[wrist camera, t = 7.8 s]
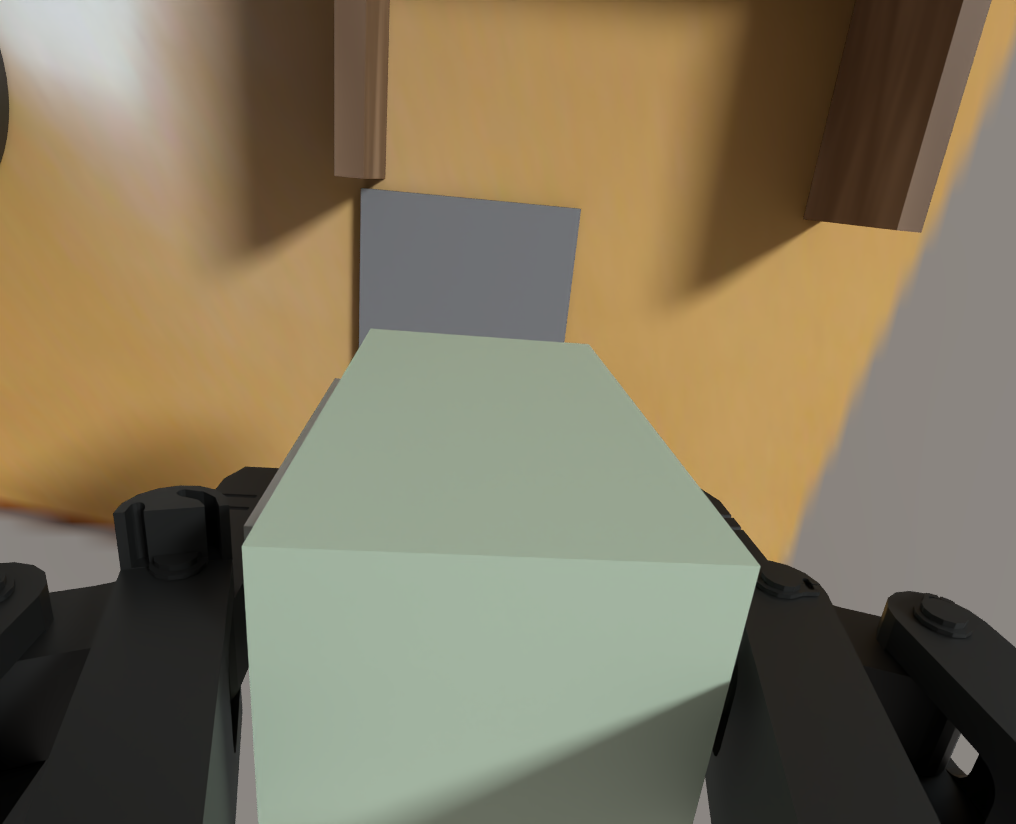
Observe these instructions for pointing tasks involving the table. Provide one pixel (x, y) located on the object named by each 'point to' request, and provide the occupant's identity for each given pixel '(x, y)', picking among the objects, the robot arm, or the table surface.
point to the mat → (465, 266)
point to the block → (487, 599)
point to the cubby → (849, 128)
